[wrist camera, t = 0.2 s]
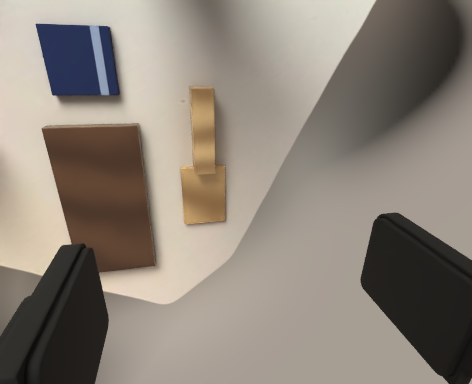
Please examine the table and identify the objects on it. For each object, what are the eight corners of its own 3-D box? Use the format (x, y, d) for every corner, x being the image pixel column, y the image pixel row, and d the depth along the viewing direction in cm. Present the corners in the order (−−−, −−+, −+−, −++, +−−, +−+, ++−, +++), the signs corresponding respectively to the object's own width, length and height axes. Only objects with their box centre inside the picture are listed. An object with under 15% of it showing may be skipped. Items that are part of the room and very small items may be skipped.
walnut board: (46, 125, 39) (41, 128, 38) (138, 123, 42) (137, 125, 40) (82, 267, 49) (79, 274, 47) (155, 259, 51) (155, 265, 50)
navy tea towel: (39, 24, 35) (34, 23, 34) (110, 27, 36) (107, 26, 35) (55, 94, 38) (52, 95, 37) (119, 94, 40) (118, 95, 38)
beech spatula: (174, 86, 41) (175, 88, 37) (223, 86, 42) (229, 88, 38) (184, 222, 49) (185, 234, 46) (224, 218, 51) (228, 230, 47)
